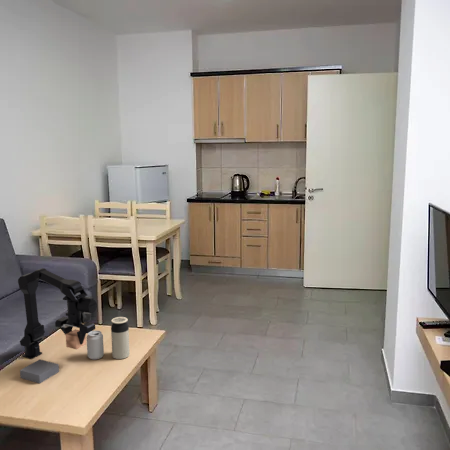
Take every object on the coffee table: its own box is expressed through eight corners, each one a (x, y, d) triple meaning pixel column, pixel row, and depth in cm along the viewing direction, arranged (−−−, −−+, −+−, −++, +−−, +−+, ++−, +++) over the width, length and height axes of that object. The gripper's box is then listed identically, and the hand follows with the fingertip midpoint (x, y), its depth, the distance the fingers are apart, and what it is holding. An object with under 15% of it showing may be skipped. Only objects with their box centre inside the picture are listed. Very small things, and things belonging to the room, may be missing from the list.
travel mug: (128, 359, 214) (127, 322, 211) (111, 359, 213) (109, 323, 210) (130, 351, 222) (129, 316, 219) (113, 352, 221) (112, 316, 218)
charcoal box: (20, 378, 197) (19, 370, 196) (40, 367, 207) (39, 359, 206) (39, 384, 193) (39, 375, 192) (59, 372, 202) (58, 364, 202)
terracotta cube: (66, 346, 206) (65, 334, 204) (76, 341, 211) (75, 329, 210) (76, 349, 203) (75, 336, 202) (86, 344, 208) (85, 331, 207)
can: (99, 361, 212) (98, 336, 210) (84, 359, 214) (83, 335, 212) (106, 353, 219) (105, 330, 217) (92, 352, 221) (91, 328, 219)
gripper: (102, 307, 207) (104, 339, 210) (71, 301, 215) (73, 332, 218) (85, 315, 197) (87, 349, 200) (53, 308, 205) (55, 341, 208)
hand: (76, 342), depth 207 cm, fingers closed on terracotta cube, 6 cm apart
